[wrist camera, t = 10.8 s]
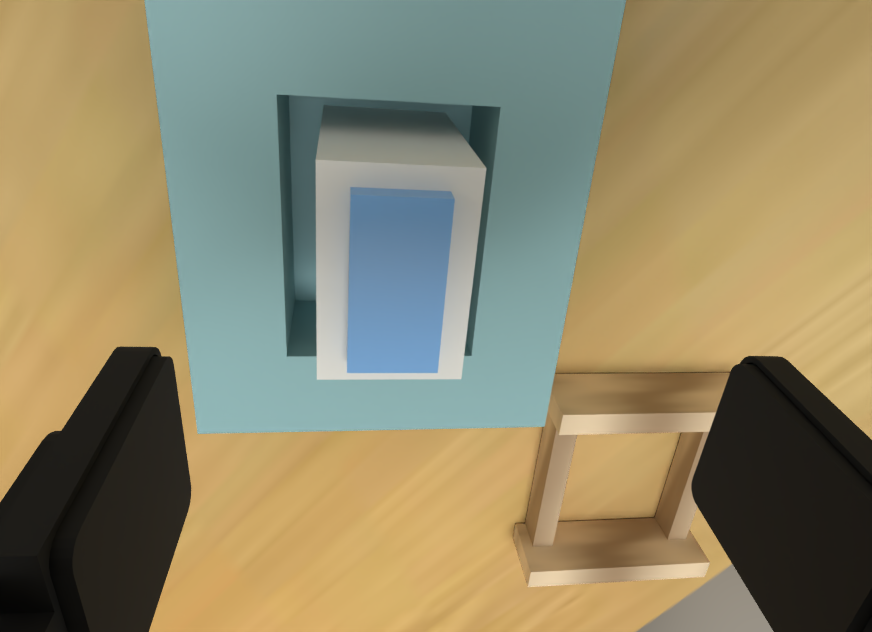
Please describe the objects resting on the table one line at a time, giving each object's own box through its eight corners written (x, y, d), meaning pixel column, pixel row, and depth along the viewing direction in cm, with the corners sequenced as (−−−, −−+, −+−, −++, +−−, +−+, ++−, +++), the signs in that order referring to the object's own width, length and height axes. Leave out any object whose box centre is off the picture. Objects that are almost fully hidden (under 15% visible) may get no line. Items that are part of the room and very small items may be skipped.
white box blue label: (445, 112, 21) (491, 175, 15) (431, 276, 24) (464, 391, 17) (323, 105, 21) (314, 166, 14) (323, 273, 23) (315, 392, 17)
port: (567, -11, 21) (627, -7, 17) (511, 358, 27) (543, 431, 23) (185, -43, 19) (138, -49, 15) (222, 359, 26) (198, 438, 21)
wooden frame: (730, 372, 29) (768, 411, 27) (676, 530, 34) (704, 576, 31) (542, 373, 28) (563, 414, 25) (512, 537, 33) (527, 586, 30)
